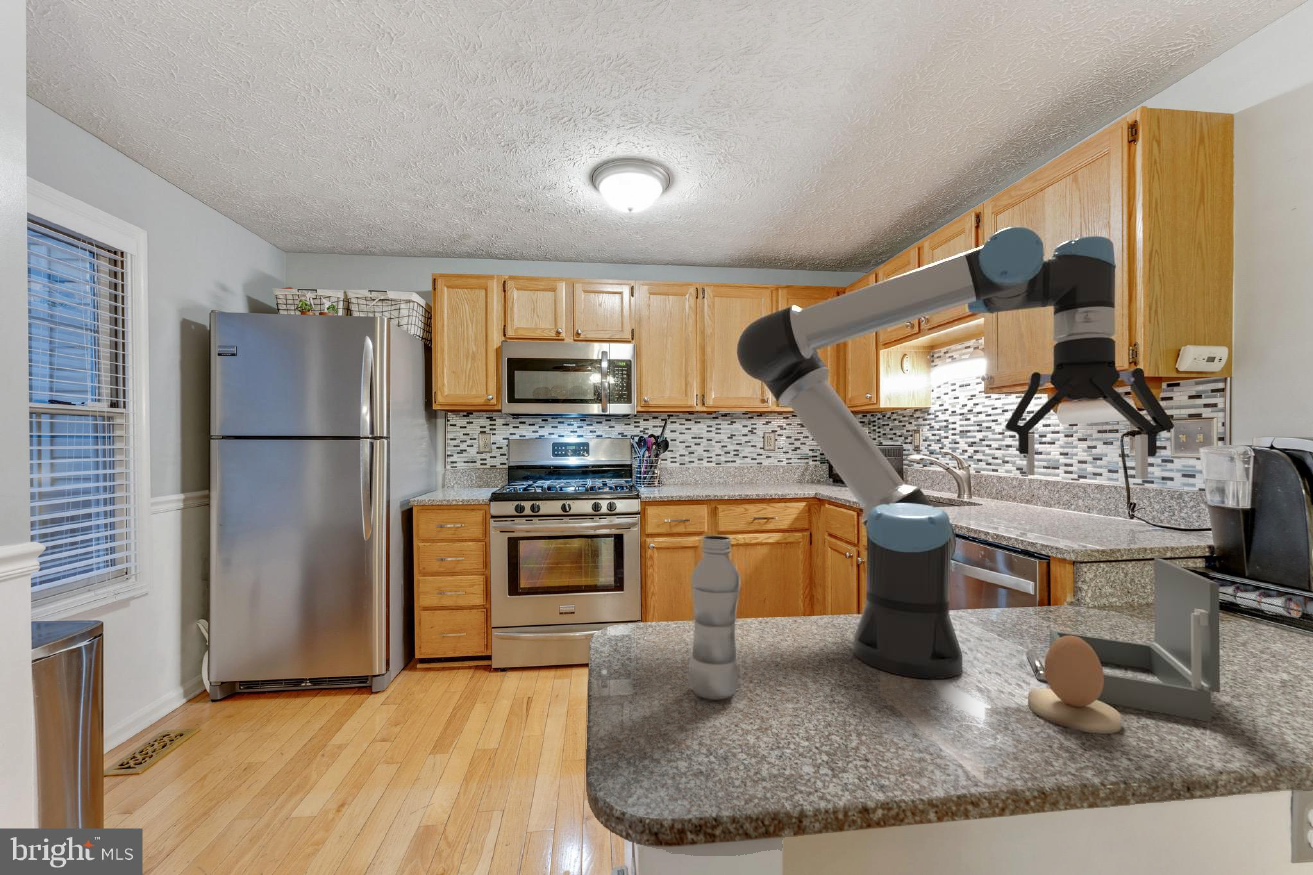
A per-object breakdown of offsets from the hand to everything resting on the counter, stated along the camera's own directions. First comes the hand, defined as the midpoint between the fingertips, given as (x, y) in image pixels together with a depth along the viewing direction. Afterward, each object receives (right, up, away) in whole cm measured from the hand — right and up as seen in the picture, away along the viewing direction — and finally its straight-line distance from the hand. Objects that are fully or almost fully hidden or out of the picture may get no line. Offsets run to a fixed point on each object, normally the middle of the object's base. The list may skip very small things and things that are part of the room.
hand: (1083, 477), depth 82 cm
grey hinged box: (0, -29, -7) cm, 29 cm away
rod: (-9, -29, -2) cm, 30 cm away
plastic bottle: (-59, -27, -14) cm, 66 cm away
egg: (-15, -27, -17) cm, 35 cm away
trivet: (-15, -28, -17) cm, 36 cm away
